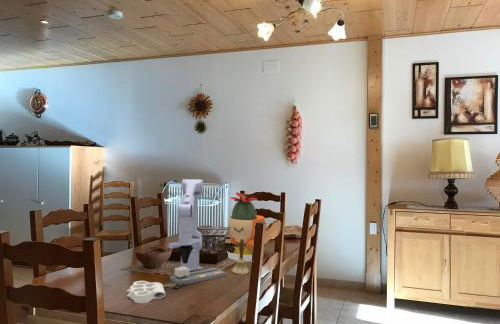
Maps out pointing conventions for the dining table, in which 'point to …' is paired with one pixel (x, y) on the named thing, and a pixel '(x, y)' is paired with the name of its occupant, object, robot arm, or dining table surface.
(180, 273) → the white block
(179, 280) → the selector board
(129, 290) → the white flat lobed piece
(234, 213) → the potted cactus
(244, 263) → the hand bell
